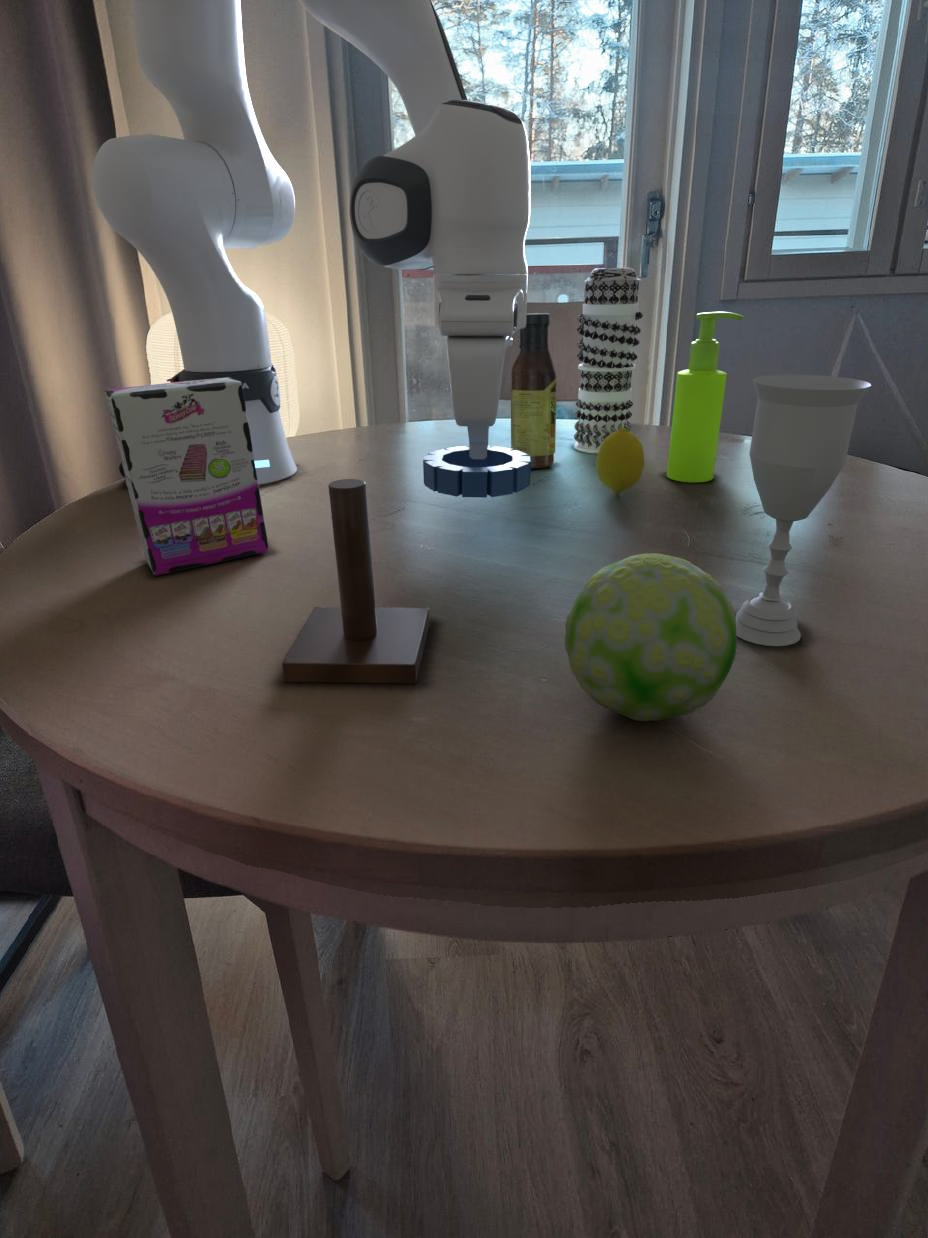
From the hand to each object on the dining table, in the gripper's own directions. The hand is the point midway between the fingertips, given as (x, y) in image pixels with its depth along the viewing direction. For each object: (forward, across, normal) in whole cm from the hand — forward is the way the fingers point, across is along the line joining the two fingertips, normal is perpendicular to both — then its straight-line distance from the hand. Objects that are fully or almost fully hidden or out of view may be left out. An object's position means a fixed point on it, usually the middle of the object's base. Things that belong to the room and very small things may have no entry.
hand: (479, 454), depth 74 cm
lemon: (+8, -12, +17) cm, 22 cm away
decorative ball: (+8, +36, +12) cm, 38 cm away
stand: (+8, +29, -7) cm, 31 cm away
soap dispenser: (+8, -20, +28) cm, 35 cm away
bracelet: (+2, +4, 0) cm, 5 cm away
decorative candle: (+8, -38, +18) cm, 43 cm away
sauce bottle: (+8, -27, +6) cm, 29 cm away
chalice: (+7, +24, +23) cm, 34 cm away
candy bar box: (+8, +10, -26) cm, 29 cm away
